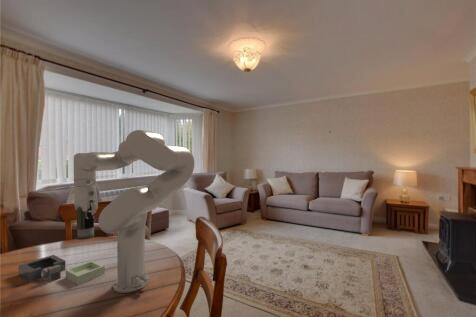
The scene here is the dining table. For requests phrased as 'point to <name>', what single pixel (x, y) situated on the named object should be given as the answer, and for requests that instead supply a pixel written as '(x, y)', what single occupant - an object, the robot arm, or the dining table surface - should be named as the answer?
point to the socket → (39, 267)
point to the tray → (85, 272)
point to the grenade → (83, 226)
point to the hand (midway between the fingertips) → (85, 226)
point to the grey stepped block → (52, 273)
